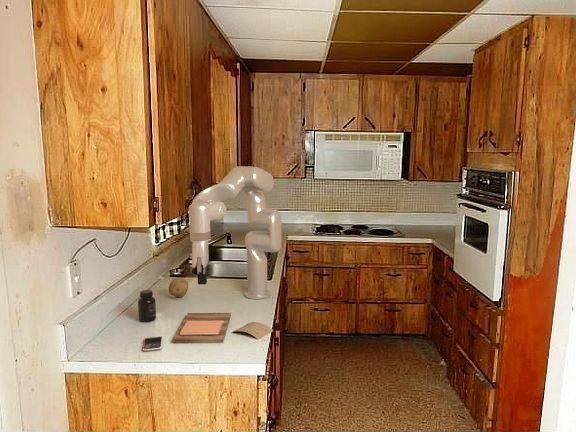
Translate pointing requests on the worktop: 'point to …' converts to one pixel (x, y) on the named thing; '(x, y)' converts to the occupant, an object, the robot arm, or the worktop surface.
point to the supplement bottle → (146, 306)
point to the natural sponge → (178, 287)
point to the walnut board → (204, 337)
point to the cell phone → (152, 344)
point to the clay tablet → (256, 329)
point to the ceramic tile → (202, 327)
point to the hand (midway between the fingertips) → (202, 283)
